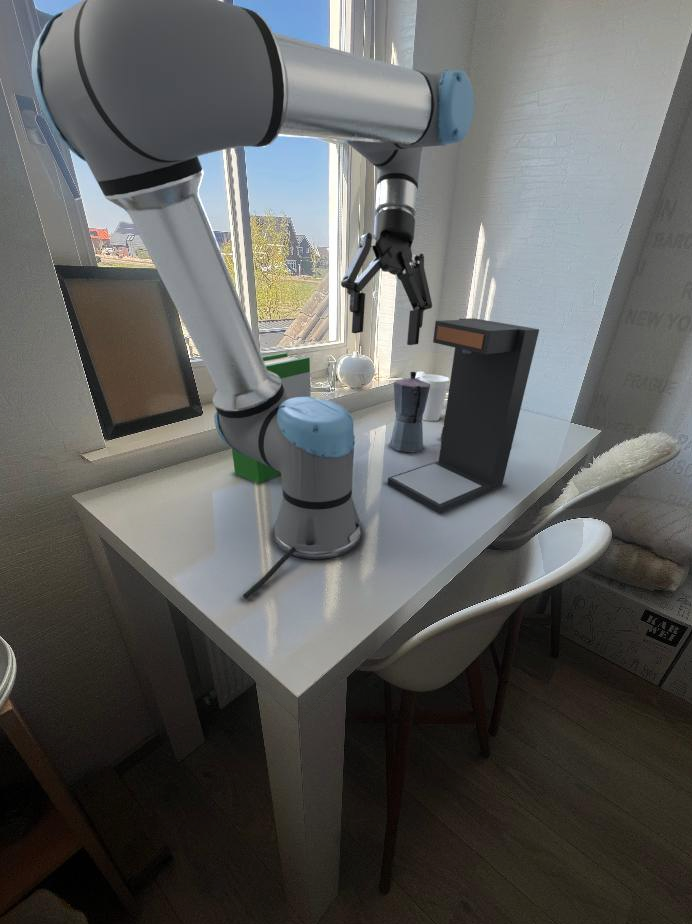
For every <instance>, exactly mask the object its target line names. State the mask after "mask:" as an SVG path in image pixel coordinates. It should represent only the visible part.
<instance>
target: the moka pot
mask: <svg viewBox="0 0 692 924" xmlns="http://www.w3.org/2000/svg"><path fill="white" fill-rule="evenodd" d="M409 373H410V377H409V378H400V379H396V380H395V381H393V393H394V394H393V397H394V412H395V421H394V424H393V429H392V434H391V438H390V443H389V445H390V447H391V449H393V450H395V451H398V452H402V453H403V452H405V453H416V452H420V451H422V450H423V448H424V437H423V436H424V433H423V419H422V418H423V413H424V411H425V407H426V402H427V398H428V393H429V389H430V384H429V383H426V382H424V381H421V380H418V379H415V377H416V374H417V372H415V371H411V372H409Z"/></svg>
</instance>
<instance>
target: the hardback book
mask: <svg viewBox="0 0 692 924" xmlns="http://www.w3.org/2000/svg"><path fill="white" fill-rule="evenodd" d="M288 355H289V354H288V352H280V353H274V354H268V355H261V356H262V358H263V361H264V363H265V366H266V368H267V370H268V371H271V372H273V373H275V374H277V375H278V376H279V377H280V379H281V382H282V385H283V387H284V390H285V392H286V395H287V398H288V399H291V398H295V397H311V360H310V357H307V356H305V357H299V358H294V357H289V356H288ZM231 452H232V453H231V454H232V461H233V467H234V475H236V476H238V477H241V478H244V479H246V480H248V481H251V482H253V483H256V484H261V483H263V482H264V483H265V482H266V481H268V480H270V479H272V478H274V477H276V476H279V475H281V472H279V471H277V470H275V469H273V468H271V467H269V466H267V465H265V464H263V463H261V462H259V461H256V460H254V459H252V458H250V457H248V456H245V455H243V454H240V453H238V452H237V451H235V450H234V449H232V448H231Z"/></svg>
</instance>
